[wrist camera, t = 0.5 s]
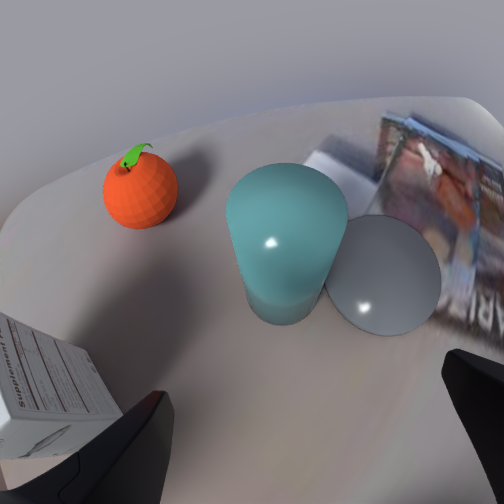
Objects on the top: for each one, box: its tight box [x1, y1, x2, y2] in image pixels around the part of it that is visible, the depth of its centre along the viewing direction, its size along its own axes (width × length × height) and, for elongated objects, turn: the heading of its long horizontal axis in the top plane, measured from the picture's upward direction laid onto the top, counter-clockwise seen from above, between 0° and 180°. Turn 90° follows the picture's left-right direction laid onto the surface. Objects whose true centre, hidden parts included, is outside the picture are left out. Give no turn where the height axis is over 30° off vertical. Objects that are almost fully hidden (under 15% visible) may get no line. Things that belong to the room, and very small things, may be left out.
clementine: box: [103, 143, 178, 229], centre depth 25 cm, size 8×7×7 cm
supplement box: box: [0, 312, 123, 460], centre depth 14 cm, size 7×7×13 cm
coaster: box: [325, 215, 441, 336], centre depth 23 cm, size 11×11×1 cm
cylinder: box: [226, 163, 348, 326], centre depth 18 cm, size 6×6×11 cm
